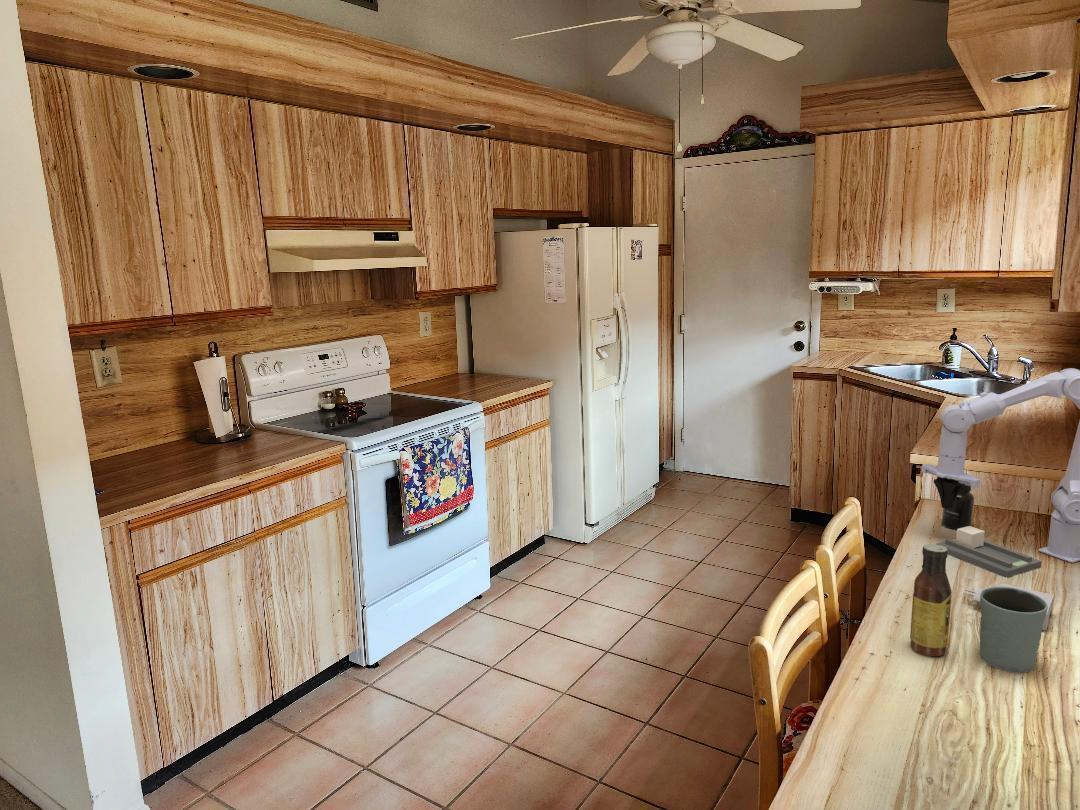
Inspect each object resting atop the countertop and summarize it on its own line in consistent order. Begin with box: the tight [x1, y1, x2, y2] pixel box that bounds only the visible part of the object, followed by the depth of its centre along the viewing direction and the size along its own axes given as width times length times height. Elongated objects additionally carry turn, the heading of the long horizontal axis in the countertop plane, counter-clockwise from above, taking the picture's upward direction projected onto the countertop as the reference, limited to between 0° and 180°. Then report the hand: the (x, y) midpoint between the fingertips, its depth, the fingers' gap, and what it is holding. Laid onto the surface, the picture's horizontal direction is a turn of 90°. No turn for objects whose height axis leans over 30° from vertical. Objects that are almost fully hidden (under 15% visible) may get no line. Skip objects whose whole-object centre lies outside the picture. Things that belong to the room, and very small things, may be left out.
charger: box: [963, 583, 1055, 632], centre depth 153 cm, size 5×9×15 cm
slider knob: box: [955, 525, 986, 548], centre depth 182 cm, size 4×4×4 cm
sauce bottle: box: [909, 543, 953, 657], centre depth 138 cm, size 7×6×20 cm
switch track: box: [935, 537, 1043, 578], centre depth 178 cm, size 12×18×2 cm, turn 24°
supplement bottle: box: [941, 485, 975, 531], centre depth 197 cm, size 7×7×12 cm
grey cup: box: [978, 586, 1048, 674], centre depth 134 cm, size 10×10×12 cm
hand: (946, 507), depth 187 cm, fingers closed
